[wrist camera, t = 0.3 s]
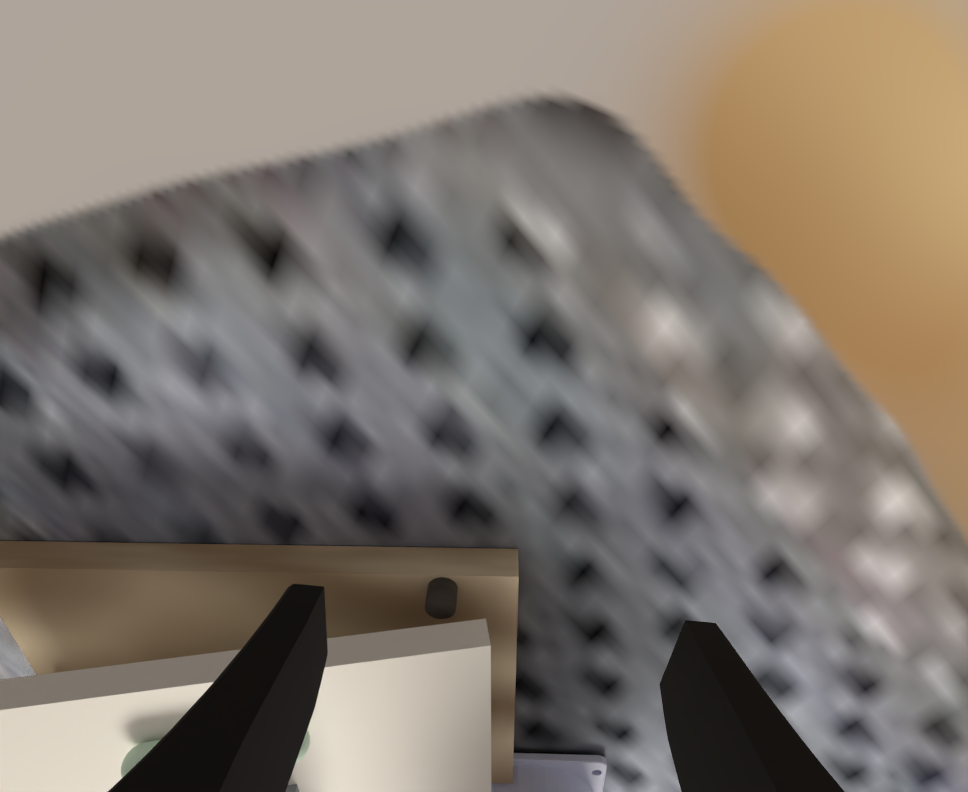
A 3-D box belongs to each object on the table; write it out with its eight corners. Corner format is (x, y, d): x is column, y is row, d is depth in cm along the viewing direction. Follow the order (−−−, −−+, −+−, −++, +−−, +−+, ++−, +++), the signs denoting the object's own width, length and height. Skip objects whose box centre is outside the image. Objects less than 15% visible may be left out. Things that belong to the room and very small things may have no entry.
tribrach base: (512, 753, 31) (513, 837, 28) (113, 743, 32) (67, 823, 29) (517, 548, 24) (520, 628, 21) (-2, 540, 25) (-83, 616, 21)
